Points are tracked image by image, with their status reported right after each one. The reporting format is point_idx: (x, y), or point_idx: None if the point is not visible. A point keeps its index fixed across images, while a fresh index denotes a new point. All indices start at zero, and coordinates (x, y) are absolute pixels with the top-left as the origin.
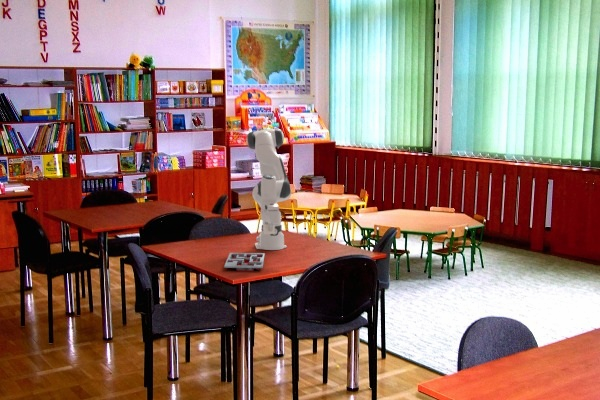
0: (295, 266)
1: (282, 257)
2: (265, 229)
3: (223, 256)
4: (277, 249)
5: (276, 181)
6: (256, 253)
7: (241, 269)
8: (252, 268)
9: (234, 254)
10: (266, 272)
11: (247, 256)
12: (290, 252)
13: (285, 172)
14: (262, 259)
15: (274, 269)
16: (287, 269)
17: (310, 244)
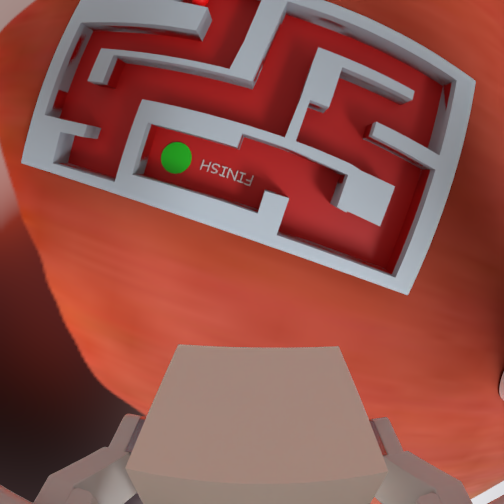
0: (125, 364)
1: (368, 377)
2: (187, 397)
3: (488, 74)
4: (501, 379)
5: None
6: (421, 237)
7: (80, 54)
8: (55, 110)
9: (450, 95)
10: (26, 180)
11: (425, 173)
12: (441, 420)
13: None
14: (198, 212)
15: (70, 239)
16: (66, 302)
17: (486, 467)
